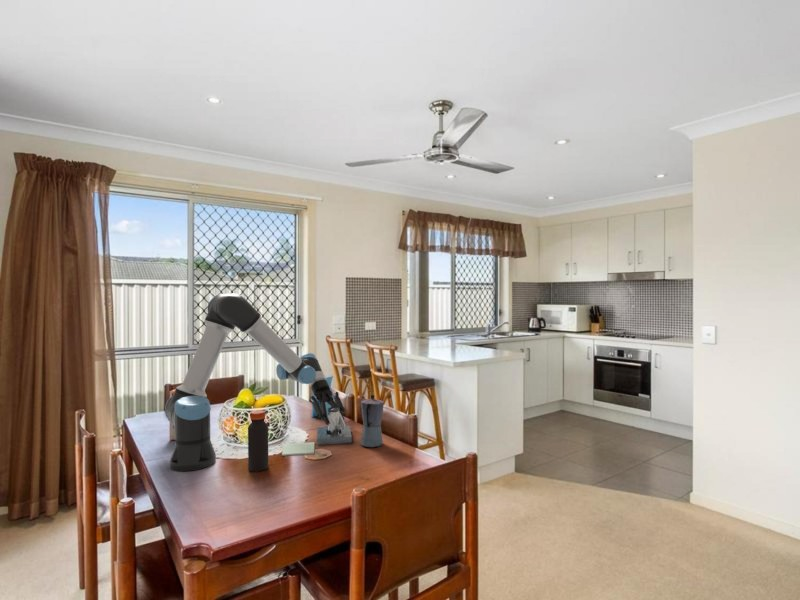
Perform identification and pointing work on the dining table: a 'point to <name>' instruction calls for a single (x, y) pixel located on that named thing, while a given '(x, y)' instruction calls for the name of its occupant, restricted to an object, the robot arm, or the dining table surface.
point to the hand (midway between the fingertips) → (338, 429)
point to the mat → (298, 448)
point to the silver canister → (334, 419)
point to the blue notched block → (329, 380)
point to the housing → (333, 436)
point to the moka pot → (372, 422)
